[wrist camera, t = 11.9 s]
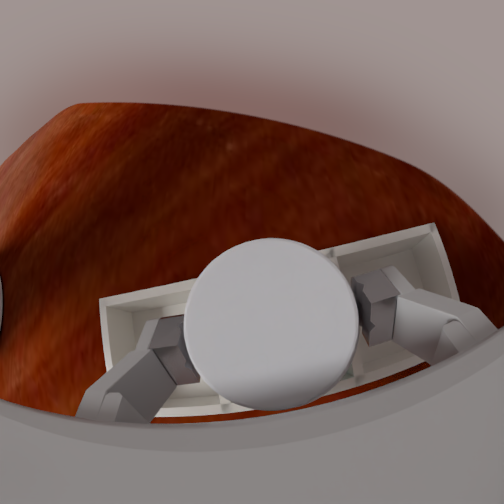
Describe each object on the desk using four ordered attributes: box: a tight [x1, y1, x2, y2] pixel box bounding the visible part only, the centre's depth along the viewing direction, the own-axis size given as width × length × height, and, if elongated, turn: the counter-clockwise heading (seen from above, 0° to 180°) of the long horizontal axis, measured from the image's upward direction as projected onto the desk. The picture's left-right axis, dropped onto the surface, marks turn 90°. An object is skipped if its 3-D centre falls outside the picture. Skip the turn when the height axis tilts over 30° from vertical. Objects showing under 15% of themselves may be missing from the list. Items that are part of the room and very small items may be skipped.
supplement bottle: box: [184, 238, 360, 411], centre depth 10 cm, size 5×5×10 cm
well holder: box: [99, 223, 460, 417], centre depth 17 cm, size 23×8×4 cm, turn 101°
